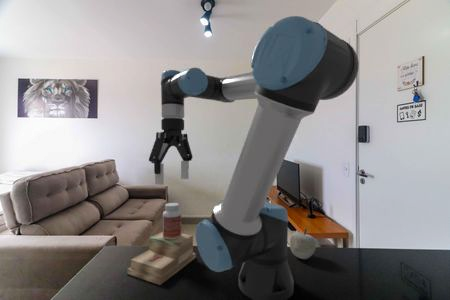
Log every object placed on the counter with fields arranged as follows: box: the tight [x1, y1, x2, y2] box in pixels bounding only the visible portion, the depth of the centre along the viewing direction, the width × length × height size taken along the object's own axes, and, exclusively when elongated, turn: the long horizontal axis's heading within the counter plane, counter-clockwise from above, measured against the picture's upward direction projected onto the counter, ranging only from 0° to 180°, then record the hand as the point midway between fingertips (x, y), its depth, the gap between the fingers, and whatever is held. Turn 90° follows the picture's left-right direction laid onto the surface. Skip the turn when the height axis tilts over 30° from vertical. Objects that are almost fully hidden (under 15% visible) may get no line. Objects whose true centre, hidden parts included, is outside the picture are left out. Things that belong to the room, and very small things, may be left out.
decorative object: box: [289, 228, 317, 260], centre depth 83 cm, size 9×9×10 cm
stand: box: [126, 230, 197, 286], centre depth 77 cm, size 13×18×8 cm
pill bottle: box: [162, 202, 182, 240], centre depth 80 cm, size 6×6×11 cm
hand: (173, 181), depth 80 cm, fingers open, 13 cm apart
